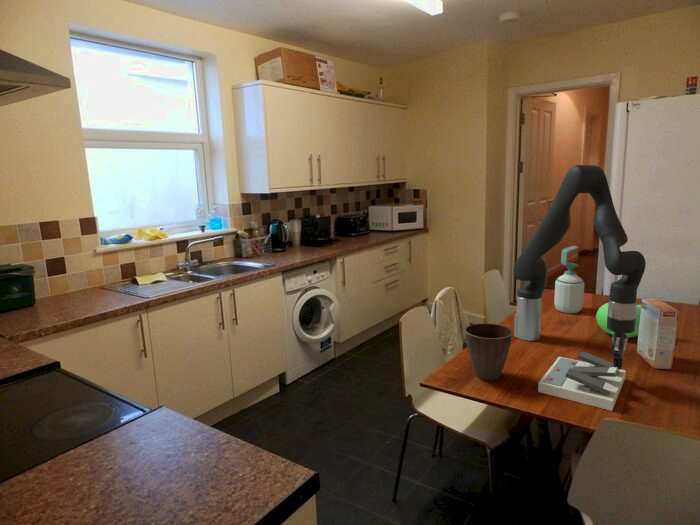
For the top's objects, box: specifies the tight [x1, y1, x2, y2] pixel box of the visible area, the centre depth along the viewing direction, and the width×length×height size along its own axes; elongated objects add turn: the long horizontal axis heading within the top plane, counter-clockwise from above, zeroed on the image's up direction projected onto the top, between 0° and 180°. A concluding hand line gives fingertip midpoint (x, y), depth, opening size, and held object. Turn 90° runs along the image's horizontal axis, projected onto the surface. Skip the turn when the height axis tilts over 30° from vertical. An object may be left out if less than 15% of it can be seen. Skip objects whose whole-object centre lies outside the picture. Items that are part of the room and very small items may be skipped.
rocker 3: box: [565, 368, 613, 395], centre depth 132 cm, size 12×4×1 cm, turn 52°
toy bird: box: [595, 302, 642, 338], centre depth 180 cm, size 18×17×15 cm
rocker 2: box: [573, 366, 618, 377], centre depth 139 cm, size 12×4×1 cm, turn 51°
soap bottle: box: [553, 245, 585, 314], centre depth 212 cm, size 12×12×31 cm
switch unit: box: [537, 356, 626, 412], centre depth 141 cm, size 20×24×4 cm
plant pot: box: [464, 322, 513, 381], centre depth 149 cm, size 15×15×16 cm
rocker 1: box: [577, 350, 620, 374], centre depth 145 cm, size 12×4×1 cm, turn 52°
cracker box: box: [636, 298, 680, 370], centre depth 155 cm, size 14×6×21 cm, turn 168°
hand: (617, 367), depth 142 cm, fingers closed
